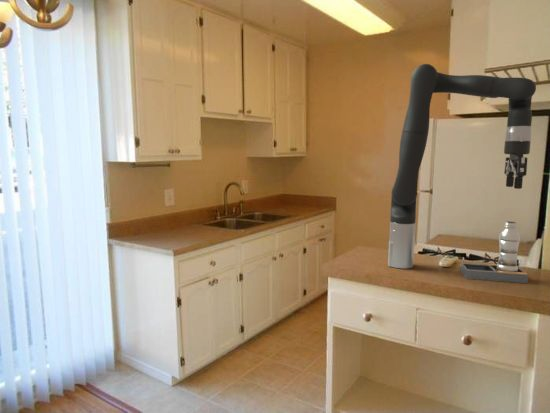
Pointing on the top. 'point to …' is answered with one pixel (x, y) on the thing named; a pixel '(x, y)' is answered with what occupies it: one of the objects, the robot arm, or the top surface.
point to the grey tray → (492, 273)
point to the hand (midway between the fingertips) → (513, 187)
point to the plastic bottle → (508, 248)
